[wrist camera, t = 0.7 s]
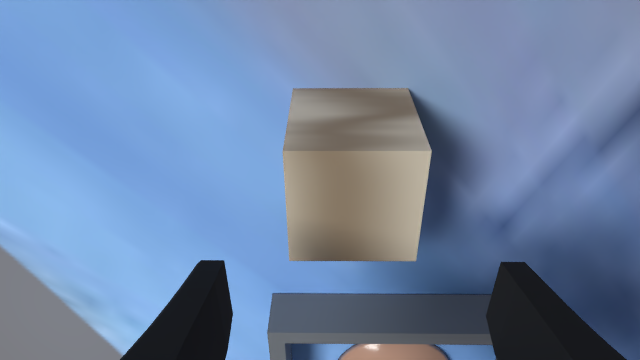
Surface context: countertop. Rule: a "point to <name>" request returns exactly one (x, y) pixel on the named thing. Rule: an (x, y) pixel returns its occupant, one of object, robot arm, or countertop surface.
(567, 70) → the countertop surface
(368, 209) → the birch block
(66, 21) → the countertop surface
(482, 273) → the countertop surface
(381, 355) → the coaster
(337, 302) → the low pen
